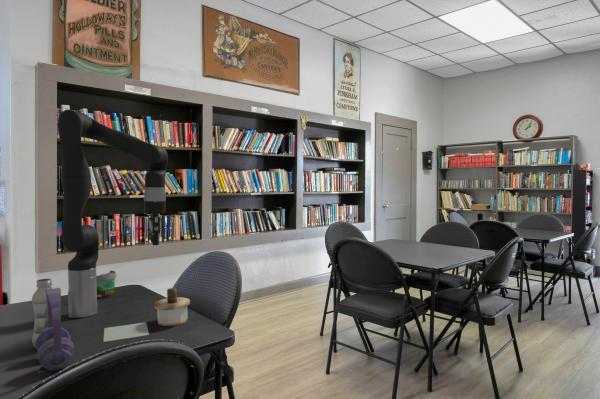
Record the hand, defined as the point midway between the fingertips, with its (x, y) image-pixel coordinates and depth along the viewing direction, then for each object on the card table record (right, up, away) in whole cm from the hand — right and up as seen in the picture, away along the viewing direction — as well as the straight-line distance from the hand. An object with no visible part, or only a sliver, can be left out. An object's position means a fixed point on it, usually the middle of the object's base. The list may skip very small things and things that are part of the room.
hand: (154, 243), depth 148 cm
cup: (+9, -27, -8) cm, 29 cm away
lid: (+9, -21, -8) cm, 24 cm away
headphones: (-12, -28, -40) cm, 50 cm away
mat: (-3, -27, -18) cm, 33 cm away
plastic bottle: (-22, -28, -29) cm, 46 cm away
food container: (-30, -26, +27) cm, 48 cm away
